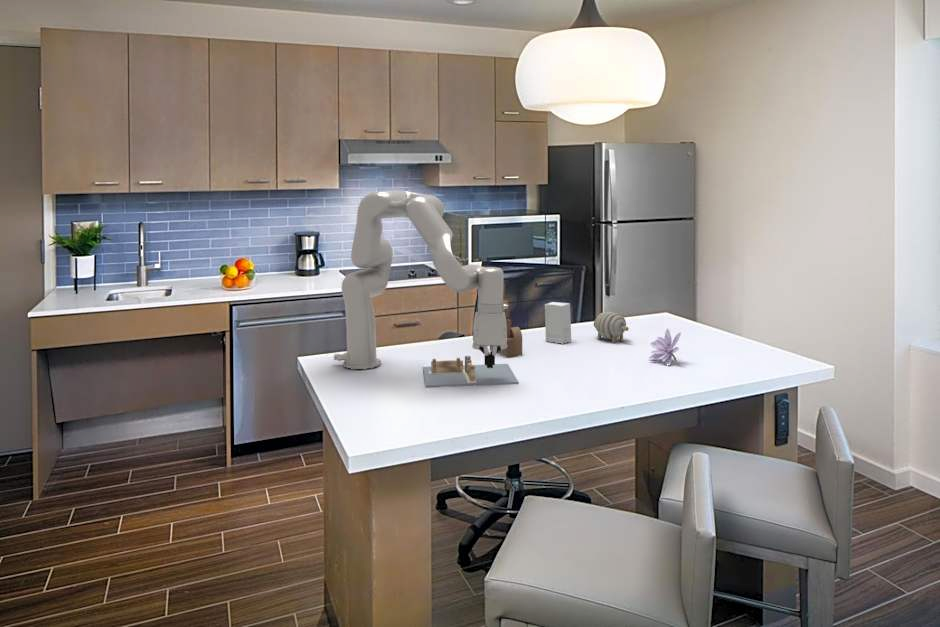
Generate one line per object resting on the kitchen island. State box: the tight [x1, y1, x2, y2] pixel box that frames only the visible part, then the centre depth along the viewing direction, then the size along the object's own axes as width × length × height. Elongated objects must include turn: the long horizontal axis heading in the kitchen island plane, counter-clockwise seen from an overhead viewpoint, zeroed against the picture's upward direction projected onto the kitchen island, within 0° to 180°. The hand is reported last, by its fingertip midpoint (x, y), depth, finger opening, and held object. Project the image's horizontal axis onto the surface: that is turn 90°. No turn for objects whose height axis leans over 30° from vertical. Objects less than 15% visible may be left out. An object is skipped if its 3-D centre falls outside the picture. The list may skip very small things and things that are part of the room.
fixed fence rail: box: [430, 357, 464, 372], centre depth 228 cm, size 10×1×4 cm, turn 96°
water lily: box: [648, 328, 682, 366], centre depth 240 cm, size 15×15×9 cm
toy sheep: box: [593, 311, 630, 343], centre depth 272 cm, size 11×17×11 cm, turn 39°
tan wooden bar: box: [467, 359, 475, 381], centre depth 222 cm, size 10×1×4 cm, turn 8°
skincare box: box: [544, 301, 572, 345], centre depth 270 cm, size 8×6×15 cm
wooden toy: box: [489, 282, 523, 358], centre depth 254 cm, size 16×7×25 cm, turn 24°
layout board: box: [422, 363, 520, 388], centre depth 226 cm, size 28×22×1 cm
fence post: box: [464, 355, 472, 372], centre depth 228 cm, size 2×2×6 cm
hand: (489, 367), depth 220 cm, fingers closed
